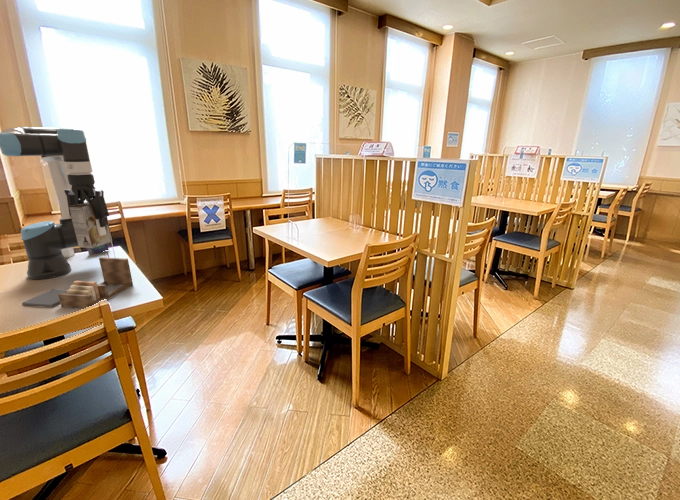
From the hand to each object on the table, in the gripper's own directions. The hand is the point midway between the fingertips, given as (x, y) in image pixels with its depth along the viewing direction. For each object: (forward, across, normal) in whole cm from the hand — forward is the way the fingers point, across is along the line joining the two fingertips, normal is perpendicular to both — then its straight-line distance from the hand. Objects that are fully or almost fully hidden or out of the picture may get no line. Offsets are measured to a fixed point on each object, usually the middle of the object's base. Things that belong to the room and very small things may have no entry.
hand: (93, 234), depth 125 cm
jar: (+25, -55, +36) cm, 70 cm away
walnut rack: (+24, 0, -4) cm, 24 cm away
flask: (+25, -42, +44) cm, 65 cm away
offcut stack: (+24, 0, -10) cm, 26 cm away
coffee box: (+4, 0, 0) cm, 4 cm away
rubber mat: (+24, -15, -9) cm, 30 cm away
